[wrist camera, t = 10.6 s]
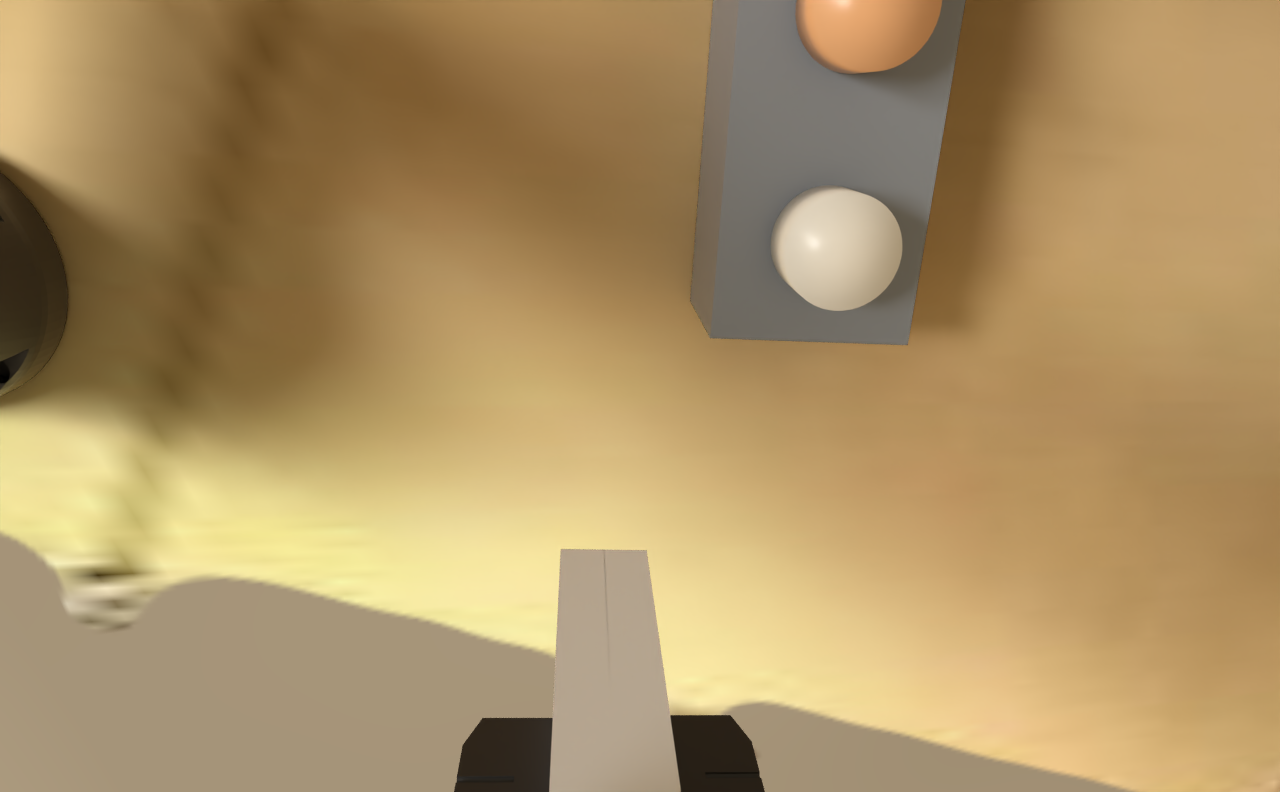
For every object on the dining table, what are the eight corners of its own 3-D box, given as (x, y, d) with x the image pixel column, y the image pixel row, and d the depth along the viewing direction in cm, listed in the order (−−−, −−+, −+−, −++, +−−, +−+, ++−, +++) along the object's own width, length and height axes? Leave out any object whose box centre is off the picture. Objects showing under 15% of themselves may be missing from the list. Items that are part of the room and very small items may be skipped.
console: (690, 301, 48) (710, 338, 41) (719, -90, 42) (750, -132, 34) (860, 307, 49) (911, 345, 42) (916, -75, 42) (989, -112, 35)
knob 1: (753, 75, 44) (806, 67, 34) (763, -34, 42) (822, -78, 32) (849, 81, 44) (930, 75, 34) (863, -27, 43) (953, -68, 32)
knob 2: (735, 263, 47) (779, 308, 37) (744, 168, 46) (792, 189, 35) (825, 266, 48) (892, 313, 37) (837, 173, 46) (911, 195, 36)
